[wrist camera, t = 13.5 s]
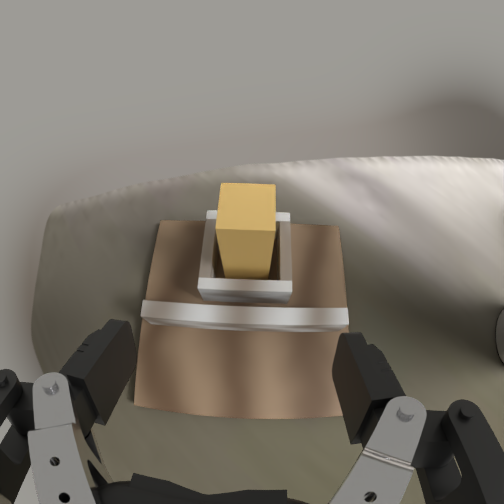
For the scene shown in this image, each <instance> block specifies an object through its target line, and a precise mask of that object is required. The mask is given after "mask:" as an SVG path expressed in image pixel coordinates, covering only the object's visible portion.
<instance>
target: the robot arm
mask: <svg viewBox="0 0 504 504" xmlns="http://www.w3.org/2000/svg"><path fill="white" fill-rule="evenodd" d="M496 343H497V349H498V353H499V356H500V358H501V360H502V362H503V363H504V309H503V310H502V312H501V313H500V315H499V318H498V321H497V326H496ZM136 362H137V352H136V348H135V343H134V339H133V334H132V329H131V325H130V323H129V322H128V321H121V320H114V319H110V320H109V321H108V322H107V323H106V324H105V326H104V327H103V328H102V329H101V330H99V329H98V330H97V331H95V332H94V333H92V334H90V335H89V336H88V337H87V338H86V339H85V341H84V342H83V343H82V345H80V347H79V348H78V349H77V351H75V353H74V354H73V355H72V356H71V358H70V359H69V360H68V361H67V363H66V364H65V365H64V366H63V368H62V369H61V370H60V372H59V373H55V372H52V373H47V374H44V375H42V376H40V377H39V378H38V379H37V380H36V381H35V382H34V383H26V382H19V380H18V378H17V376H16V374H15V373H14V372H13V371H12V370H9V369H4V370H0V426H1V425H2V423H3V422H4V420H5V419H6V417H7V418H8V419H9V421H10V422H11V424H12V425H11V427H10V429H9V430H8V432H7V434H6V435H5V437H4V439H3V440H2V442H1V444H0V504H14V502H15V499H16V497H17V495H18V492H19V490H20V488H21V485H22V483H23V481H24V479H25V476H26V474H27V472H28V470H29V468H30V465H31V466H32V471H33V477H34V482H35V487H36V492H37V496H38V500H39V504H308V503H305V502H303V501H299V500H295V499H290V498H287V490H243V491H237V492H229V493H221V494H212V495H206V494H201V493H199V492H196V491H193V490H190V489H187V488H185V487H182V486H180V485H177V484H175V483H172V482H170V481H166V480H161V479H157V478H152V477H148V476H144V475H139V474H136V473H133V476H132V479H131V481H119V482H113V480H112V478H111V476H110V475H109V473H108V471H107V469H106V466H105V464H104V461H103V458H102V456H101V453H100V450H99V447H98V444H97V441H96V438H95V435H94V432H93V430H92V426H93V424H94V422H95V423H98V424H101V425H106V423H107V421H108V419H109V417H110V415H111V413H112V411H113V409H114V407H115V405H116V403H117V401H118V399H119V397H120V395H121V393H122V391H123V390H124V388H125V386H126V384H127V382H128V380H129V378H130V376H131V374H132V372H133V370H134V369H135V366H136ZM332 378H333V382H334V386H335V389H336V393H337V396H338V400H339V403H340V407H341V410H342V414H343V417H344V421H345V425H346V428H347V432H348V436H349V440H350V444H358V443H362V447H363V450H362V452H361V453H360V455H359V457H358V459H357V460H356V462H355V464H354V465H353V467H352V468H351V470H350V472H349V473H348V475H347V476H346V478H345V479H344V481H343V482H342V484H341V485H340V487H339V488H338V490H337V491H336V493H335V494H334V496H333V497H332V498H331V500H330V501H329V502H328V504H399V503H400V501H401V499H402V497H403V495H404V492H405V490H406V488H407V486H408V483H409V481H410V478H411V476H412V473H413V470H414V468H416V471H417V474H418V478H419V481H420V484H421V488H422V491H423V495H424V499H425V502H426V504H504V452H503V450H502V448H501V446H500V444H499V442H498V440H497V438H496V437H495V435H494V433H493V431H492V429H491V427H490V426H489V424H488V422H487V420H486V419H485V417H484V415H483V414H482V412H481V410H480V409H479V407H478V406H477V405H476V404H474V403H473V402H471V401H468V400H457V401H455V402H453V403H452V404H451V405H450V407H449V408H448V410H447V411H431V410H426V409H425V407H424V406H423V404H422V403H421V402H419V401H418V400H416V399H414V398H412V397H407V396H406V395H405V393H404V391H403V389H402V387H401V386H400V384H399V382H398V380H397V378H396V376H395V374H394V372H393V371H392V370H391V367H390V365H389V363H387V360H386V358H385V356H384V354H383V353H382V351H380V350H379V349H378V348H377V347H376V346H374V345H373V344H370V345H367V343H366V341H365V339H364V337H363V335H362V333H361V332H352V333H341V334H340V336H339V339H338V344H337V348H336V352H335V356H334V361H333V365H332ZM454 456H455V458H456V461H457V463H458V466H459V468H460V471H461V474H462V478H461V475H460V472H459V470H458V467H457V465H456V462H455V460H454Z"/></svg>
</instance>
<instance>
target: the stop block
mask: <svg viewBox="0 0 504 504" xmlns="http://www.w3.org/2000/svg"><path fill="white" fill-rule="evenodd" d="M215 229H216V234H217V240H218V245H219V250H220V255H221V259H222V264H223V269H224V274H225V279H248V280H268V277H269V270H270V264H271V258H272V251H273V245H274V238H275V232H276V200H275V185H271V184H245V183H221V189H220V196H219V204H218V212H217V219H216V228H215Z"/></svg>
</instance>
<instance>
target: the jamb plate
mask: <svg viewBox="0 0 504 504" xmlns="http://www.w3.org/2000/svg"><path fill="white" fill-rule="evenodd" d="M217 212H218V210H207V216H206V221H173V220H160V225H159V229H158V234H157V239H156V243H155V248H154V253H153V258H152V264H151V269H150V274H149V280H148V286H147V292H146V298H145V300H143V303H142V309H141V317H142V326H141V333H140V341H139V350H138V360H137V370H136V382H135V396H134V405H137V406H142V407H147V408H153V409H158V410H165V411H171V412H178V413H186V414H194V415H204V416H215V417H228V418H248V419H298V418H318V417H332V416H342V415H343V414H342V410H341V407H340V403H339V400H338V396H337V393H336V389H335V386H334V382H333V378H332V365H333V361H334V356H335V352H336V348H337V344H338V339H339V336H340V334H341V333H349V331H348V325H349V319H348V308H347V300H346V288H345V277H344V267H343V258H342V249H341V241H340V233H339V226H328V225H309V224H290V213H283V212H276V232H275V238H274V245H273V251H272V258H271V264H270V270H269V277H268V280H248V279H225V274H224V269H223V264H222V259H221V255H220V250H219V245H218V240H217V234H216V229H215V228H216V219H217Z"/></svg>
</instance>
